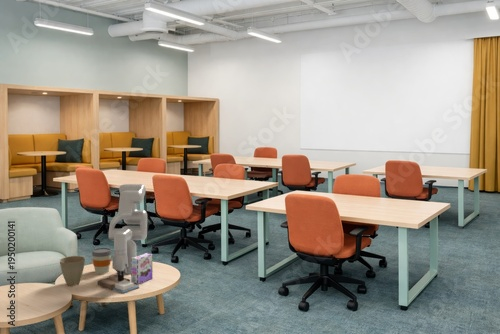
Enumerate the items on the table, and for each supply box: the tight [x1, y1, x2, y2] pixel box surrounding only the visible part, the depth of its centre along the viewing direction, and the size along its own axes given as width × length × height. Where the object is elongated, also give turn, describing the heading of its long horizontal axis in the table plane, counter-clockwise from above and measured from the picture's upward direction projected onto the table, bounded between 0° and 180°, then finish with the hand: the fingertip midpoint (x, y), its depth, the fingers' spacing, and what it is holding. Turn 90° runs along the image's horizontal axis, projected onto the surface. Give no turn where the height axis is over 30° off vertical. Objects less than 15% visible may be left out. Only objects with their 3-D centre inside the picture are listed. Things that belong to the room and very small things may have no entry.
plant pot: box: [59, 255, 86, 287], centre depth 286 cm, size 15×15×16 cm
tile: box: [115, 280, 135, 291], centre depth 280 cm, size 8×8×2 cm
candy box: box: [130, 252, 153, 285], centre depth 294 cm, size 14×6×16 cm, turn 149°
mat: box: [112, 284, 140, 295], centre depth 280 cm, size 12×10×1 cm
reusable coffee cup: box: [91, 247, 112, 275], centre depth 311 cm, size 13×13×15 cm
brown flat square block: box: [96, 274, 131, 291], centre depth 287 cm, size 14×14×3 cm
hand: (120, 280), depth 282 cm, fingers closed
